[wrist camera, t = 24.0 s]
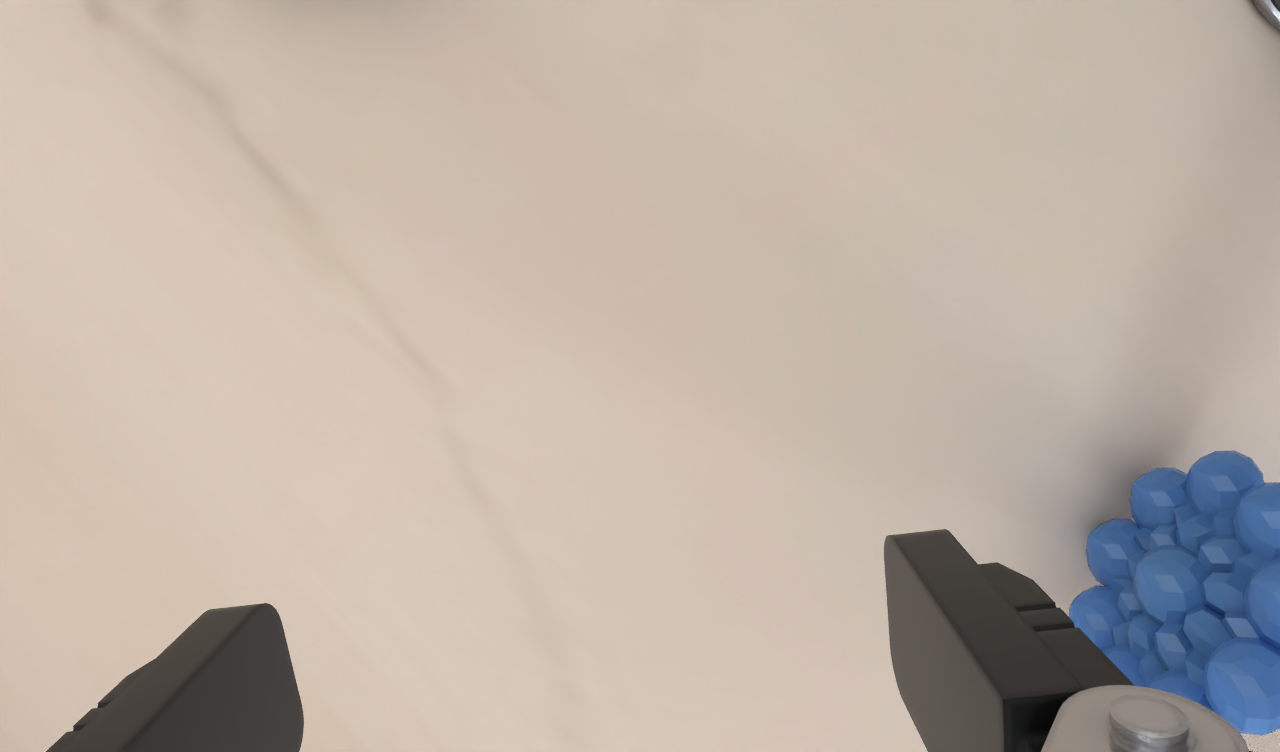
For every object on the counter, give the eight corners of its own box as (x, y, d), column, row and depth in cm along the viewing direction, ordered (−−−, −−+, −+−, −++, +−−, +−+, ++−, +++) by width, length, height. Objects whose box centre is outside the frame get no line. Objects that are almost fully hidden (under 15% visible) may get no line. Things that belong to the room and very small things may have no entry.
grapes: (1103, 675, 40) (1291, 879, 28) (986, 608, 39) (1129, 789, 27) (1263, 475, 37) (1540, 606, 26) (1142, 401, 37) (1370, 501, 25)
